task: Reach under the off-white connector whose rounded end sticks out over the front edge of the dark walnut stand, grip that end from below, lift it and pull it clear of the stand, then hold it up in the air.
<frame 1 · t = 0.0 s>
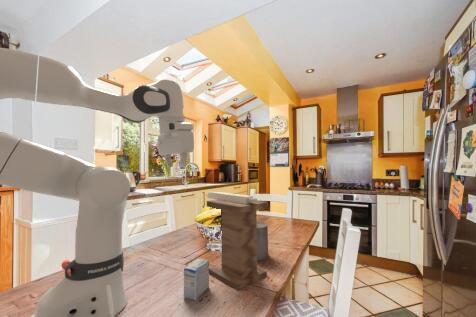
hand: (176, 166, 79), 39 cm above the table, tool pointing down, fingers open, 8 cm apart
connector: (213, 197, 92), point 26 cm above the table, touching stand
medicine box: (196, 293, 69), on the table
pillar candle: (256, 256, 97), on the table
stand: (237, 274, 81), on the table
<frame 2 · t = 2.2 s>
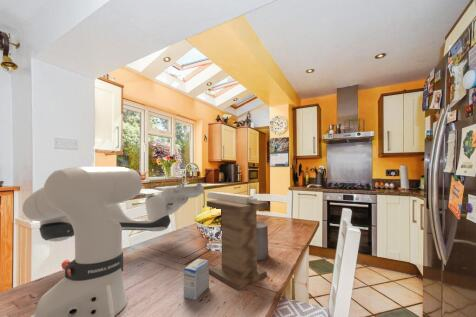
hand: (191, 184, 105), 30 cm above the table, tool pointing upward, fingers open, 8 cm apart
nothing on the table moved.
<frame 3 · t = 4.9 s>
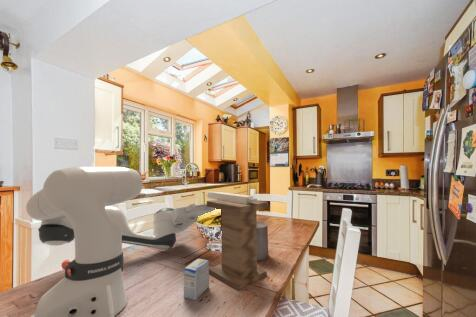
hand: (202, 204, 98), 22 cm above the table, tool pointing upward, fingers open, 8 cm apart
nothing on the table moved.
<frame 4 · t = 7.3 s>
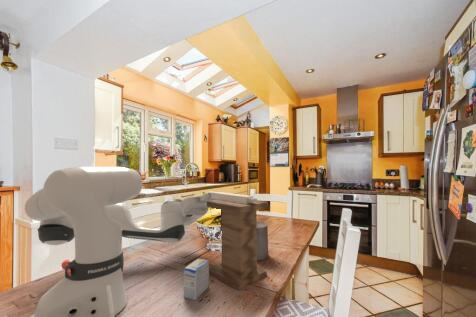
hand: (214, 194, 92), 28 cm above the table, tool pointing upward, fingers closed on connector, 4 cm apart
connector: (213, 197, 92), point 26 cm above the table, touching gripper
everything else where it was.
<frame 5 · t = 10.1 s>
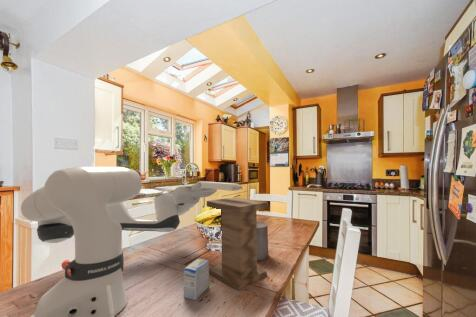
hand: (204, 183, 98), 32 cm above the table, tool pointing upward, fingers closed on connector, 4 cm apart
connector: (203, 187, 98), point 30 cm above the table, touching gripper
everything else where it was.
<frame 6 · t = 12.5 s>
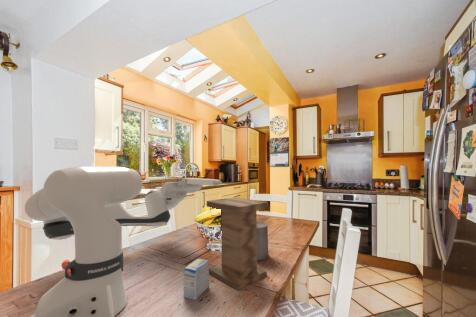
hand: (190, 179, 107), 33 cm above the table, tool pointing upward, fingers closed on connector, 4 cm apart
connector: (189, 183, 107), point 31 cm above the table, touching gripper
everything else where it was.
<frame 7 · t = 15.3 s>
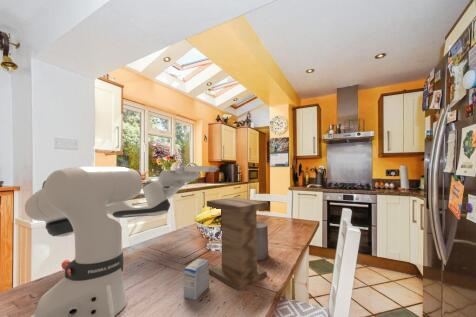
hand: (187, 167, 108), 38 cm above the table, tool pointing upward, fingers closed on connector, 4 cm apart
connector: (186, 171, 108), point 37 cm above the table, touching gripper
everything else where it was.
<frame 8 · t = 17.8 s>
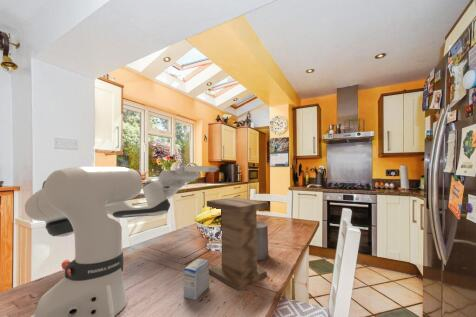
hand: (187, 167, 108), 38 cm above the table, tool pointing upward, fingers closed on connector, 4 cm apart
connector: (186, 171, 108), point 37 cm above the table, touching gripper
everything else where it was.
at the end: the gripper is holding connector; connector touching gripper; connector point 36.8 cm above the table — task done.
